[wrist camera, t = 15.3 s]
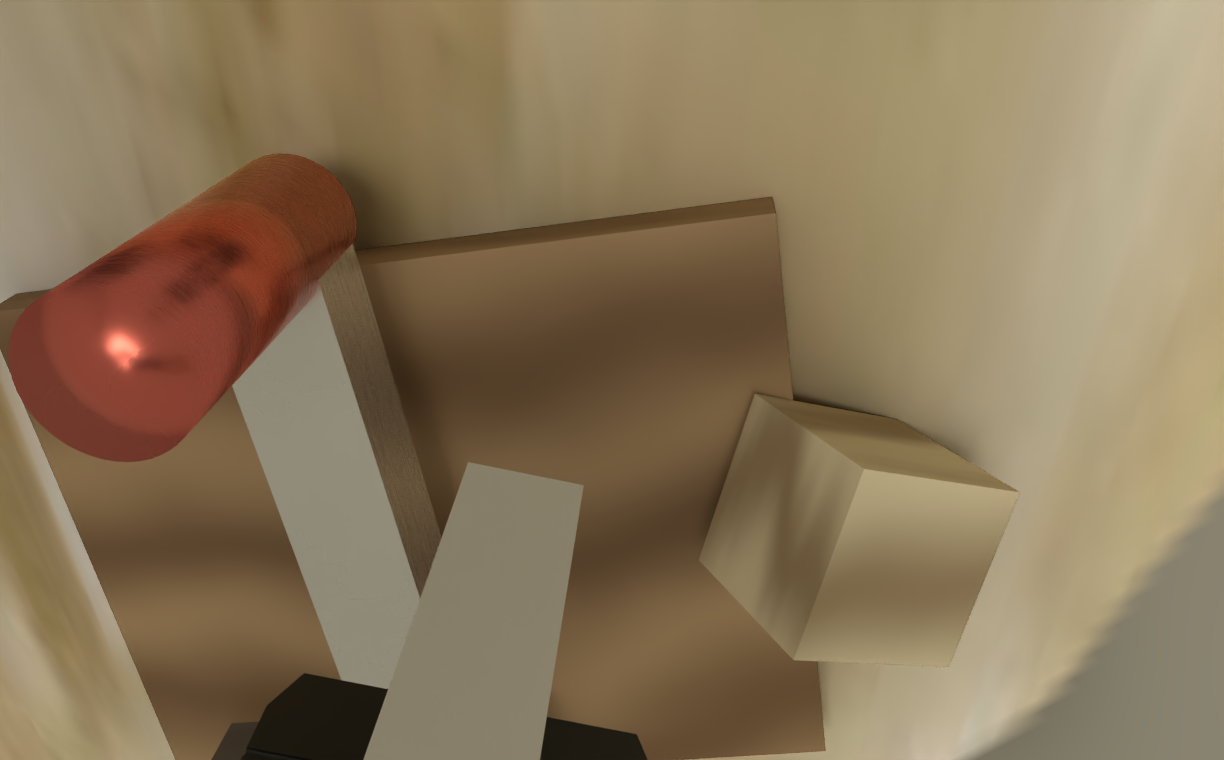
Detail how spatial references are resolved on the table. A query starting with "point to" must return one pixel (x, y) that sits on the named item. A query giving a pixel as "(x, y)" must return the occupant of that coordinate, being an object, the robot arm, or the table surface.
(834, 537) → the block
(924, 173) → the table surface
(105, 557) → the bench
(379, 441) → the lever
